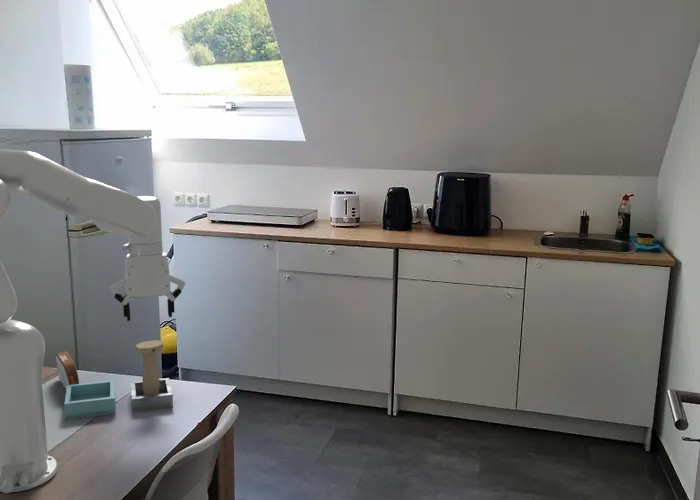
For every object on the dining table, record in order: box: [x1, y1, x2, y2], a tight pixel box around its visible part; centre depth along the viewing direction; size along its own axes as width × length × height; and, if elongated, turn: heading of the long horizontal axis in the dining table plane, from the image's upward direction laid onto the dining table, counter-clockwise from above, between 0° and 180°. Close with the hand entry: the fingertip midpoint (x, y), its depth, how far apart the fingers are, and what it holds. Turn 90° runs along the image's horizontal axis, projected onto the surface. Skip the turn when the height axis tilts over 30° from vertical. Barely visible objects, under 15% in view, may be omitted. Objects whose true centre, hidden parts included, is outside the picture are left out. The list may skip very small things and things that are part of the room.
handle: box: [135, 339, 164, 396], centre depth 159 cm, size 5×6×15 cm
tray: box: [64, 379, 117, 421], centre depth 157 cm, size 11×11×4 cm
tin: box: [55, 350, 80, 391], centre depth 167 cm, size 15×3×8 cm, turn 35°
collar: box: [130, 377, 174, 414], centre depth 161 cm, size 10×9×4 cm
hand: (149, 317), depth 157 cm, fingers open, 9 cm apart
